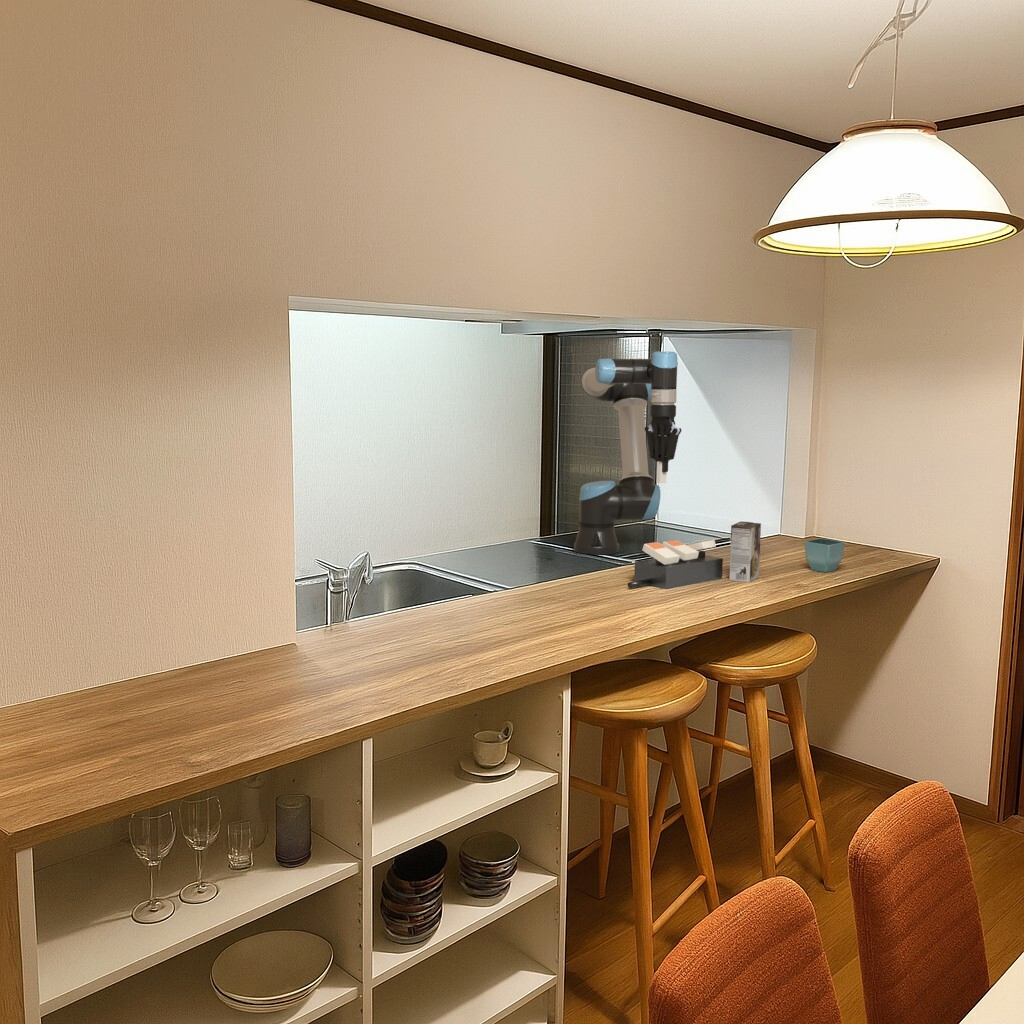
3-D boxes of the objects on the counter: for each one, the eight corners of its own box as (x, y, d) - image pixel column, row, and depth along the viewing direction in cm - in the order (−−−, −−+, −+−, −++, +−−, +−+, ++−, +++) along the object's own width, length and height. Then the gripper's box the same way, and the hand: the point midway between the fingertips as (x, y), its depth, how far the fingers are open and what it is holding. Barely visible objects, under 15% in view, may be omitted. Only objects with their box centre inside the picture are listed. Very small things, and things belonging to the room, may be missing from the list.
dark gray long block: (614, 585, 273) (614, 559, 272) (690, 572, 293) (691, 547, 292) (645, 593, 264) (646, 566, 263) (722, 578, 284) (723, 553, 283)
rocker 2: (661, 548, 281) (663, 541, 281) (674, 546, 285) (676, 539, 284) (684, 560, 275) (685, 553, 274) (697, 558, 278) (699, 551, 278)
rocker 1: (642, 550, 276) (644, 543, 275) (655, 548, 280) (657, 541, 279) (664, 564, 270) (666, 557, 269) (678, 562, 274) (680, 555, 273)
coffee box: (738, 574, 289) (740, 521, 287) (759, 577, 286) (761, 522, 284) (728, 580, 281) (730, 524, 279) (750, 582, 278) (752, 526, 276)
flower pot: (827, 574, 290) (829, 545, 289) (802, 570, 297) (803, 541, 296) (844, 571, 296) (845, 541, 294) (818, 566, 302) (820, 538, 301)
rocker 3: (680, 553, 287) (678, 546, 287) (693, 551, 290) (691, 544, 290) (703, 548, 280) (701, 541, 280) (715, 546, 283) (714, 539, 283)
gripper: (638, 403, 293) (636, 481, 297) (671, 404, 283) (669, 485, 286) (655, 403, 298) (654, 480, 301) (688, 404, 288) (686, 483, 291)
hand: (661, 482), depth 294 cm, fingers closed
